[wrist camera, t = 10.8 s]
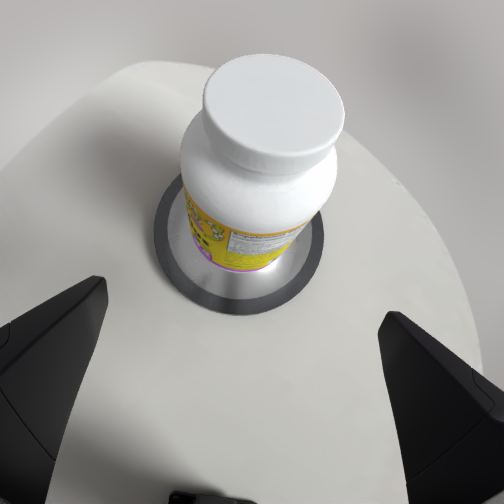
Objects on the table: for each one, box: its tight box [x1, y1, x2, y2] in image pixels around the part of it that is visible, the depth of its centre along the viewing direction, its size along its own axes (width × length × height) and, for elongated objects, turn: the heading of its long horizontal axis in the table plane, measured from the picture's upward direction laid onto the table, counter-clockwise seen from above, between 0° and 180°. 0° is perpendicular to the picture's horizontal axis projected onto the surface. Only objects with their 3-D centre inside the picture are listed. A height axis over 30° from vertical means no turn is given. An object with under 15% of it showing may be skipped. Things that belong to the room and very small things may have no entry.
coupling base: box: [154, 174, 324, 316], centre depth 22 cm, size 12×12×1 cm
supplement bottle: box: [180, 54, 345, 273], centre depth 15 cm, size 7×7×13 cm
